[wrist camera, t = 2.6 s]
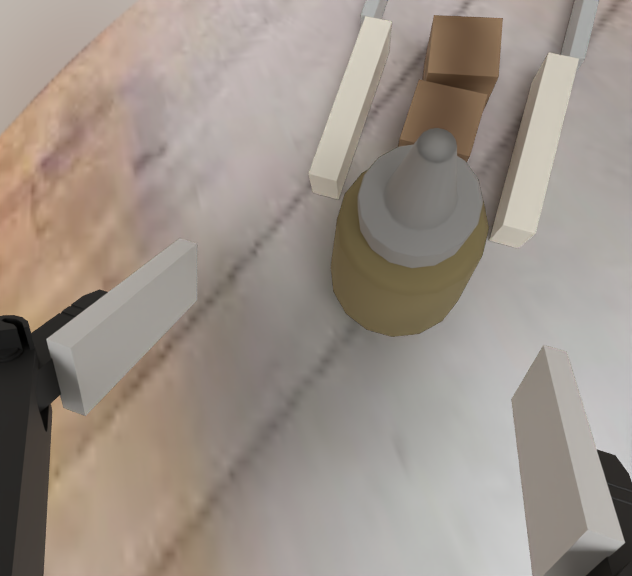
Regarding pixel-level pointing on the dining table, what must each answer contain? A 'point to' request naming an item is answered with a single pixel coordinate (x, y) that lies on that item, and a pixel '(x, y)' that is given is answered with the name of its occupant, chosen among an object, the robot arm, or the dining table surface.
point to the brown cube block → (464, 53)
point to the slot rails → (529, 151)
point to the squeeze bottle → (409, 237)
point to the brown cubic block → (444, 114)
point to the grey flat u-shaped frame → (575, 33)
